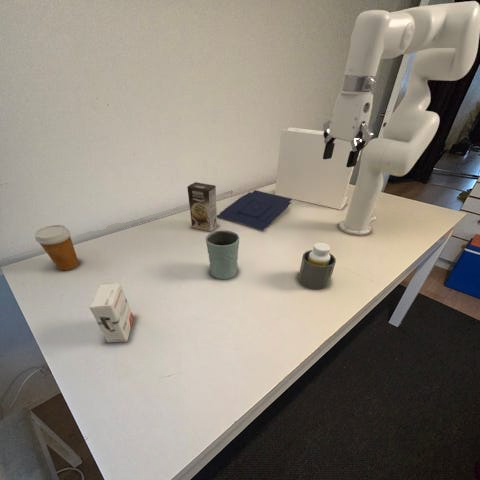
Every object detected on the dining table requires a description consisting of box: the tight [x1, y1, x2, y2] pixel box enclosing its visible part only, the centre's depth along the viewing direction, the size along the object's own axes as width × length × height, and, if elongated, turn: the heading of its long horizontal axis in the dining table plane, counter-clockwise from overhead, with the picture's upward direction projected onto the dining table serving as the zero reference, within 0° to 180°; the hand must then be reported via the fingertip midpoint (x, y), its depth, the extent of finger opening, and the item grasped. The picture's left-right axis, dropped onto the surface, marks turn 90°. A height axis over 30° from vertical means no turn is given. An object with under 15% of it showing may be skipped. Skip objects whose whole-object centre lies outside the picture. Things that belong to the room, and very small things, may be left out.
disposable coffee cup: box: [34, 224, 80, 271], centre depth 83 cm, size 10×10×12 cm
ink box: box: [89, 282, 134, 343], centre depth 63 cm, size 9×5×12 cm, turn 5°
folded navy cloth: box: [217, 189, 293, 232], centre depth 119 cm, size 24×30×4 cm
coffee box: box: [187, 181, 218, 233], centre depth 104 cm, size 9×6×16 cm
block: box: [274, 126, 362, 210], centre depth 124 cm, size 35×8×28 cm, turn 57°
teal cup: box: [205, 229, 240, 280], centre depth 82 cm, size 10×10×12 cm
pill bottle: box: [308, 242, 331, 266], centre depth 79 cm, size 6×6×11 cm
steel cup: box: [298, 249, 337, 290], centre depth 81 cm, size 10×10×8 cm
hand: (338, 162), depth 78 cm, fingers open, 9 cm apart
